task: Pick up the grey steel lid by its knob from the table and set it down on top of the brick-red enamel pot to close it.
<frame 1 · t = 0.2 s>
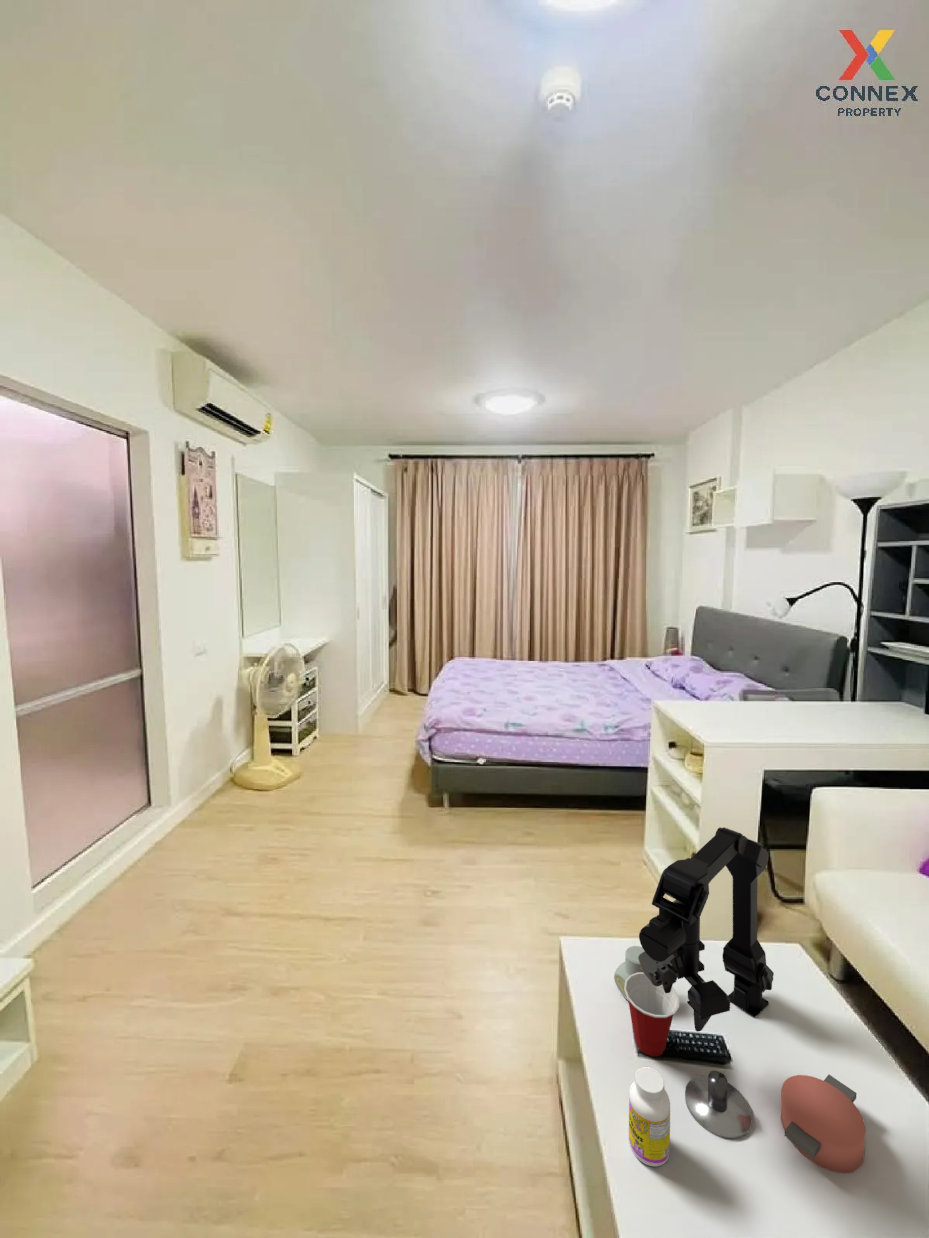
hand: (682, 1010, 102), 14 cm above the table, fingers open, 9 cm apart
air freshener: (638, 994, 123), on the table
pot: (820, 1133, 92), on the table
plastic cup: (651, 1045, 110), on the table
supplement bottle: (648, 1148, 91), on the table
lid: (717, 1108, 97), on the table
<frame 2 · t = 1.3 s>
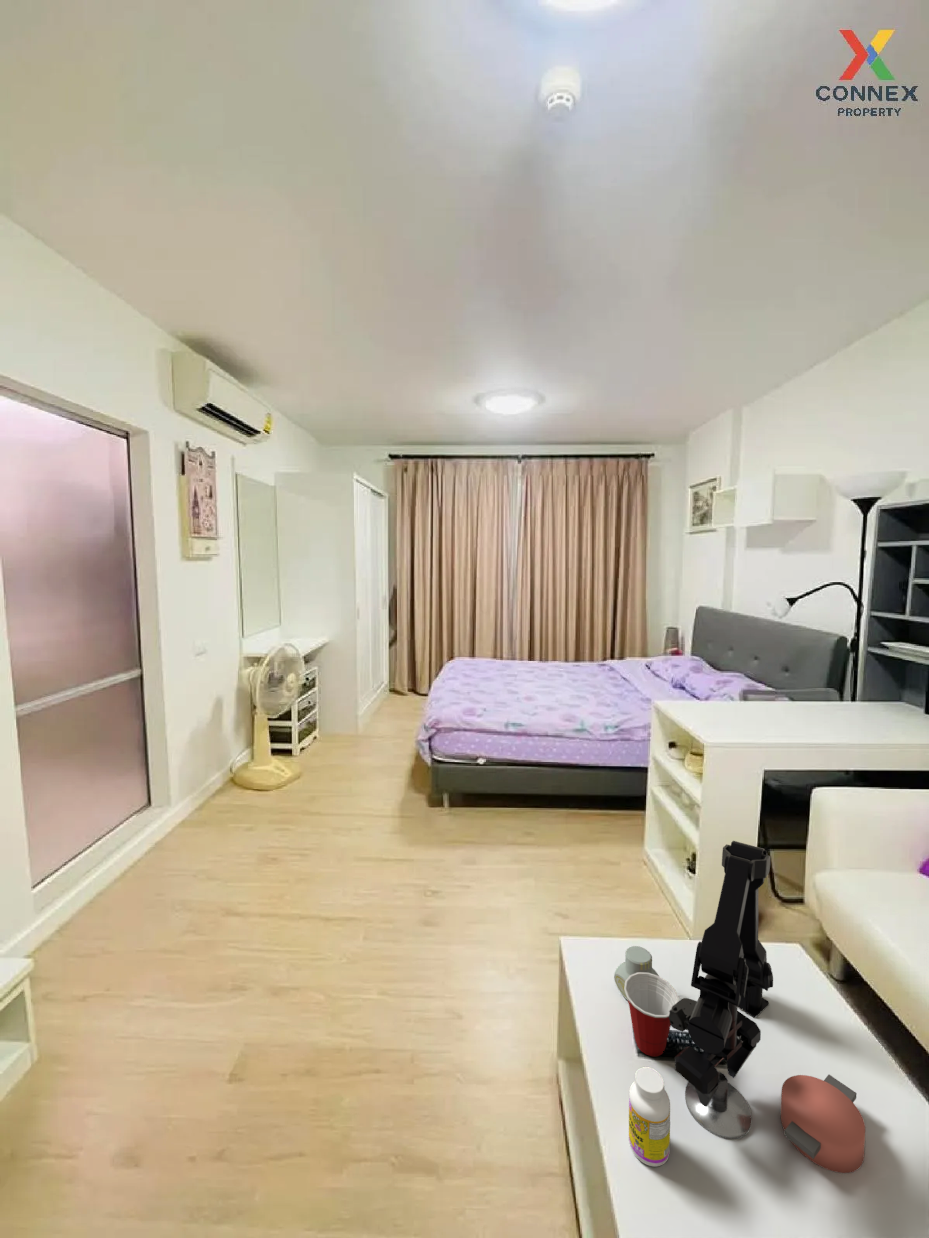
hand: (717, 1089, 97), 3 cm above the table, fingers open, 9 cm apart
nothing on the table moved.
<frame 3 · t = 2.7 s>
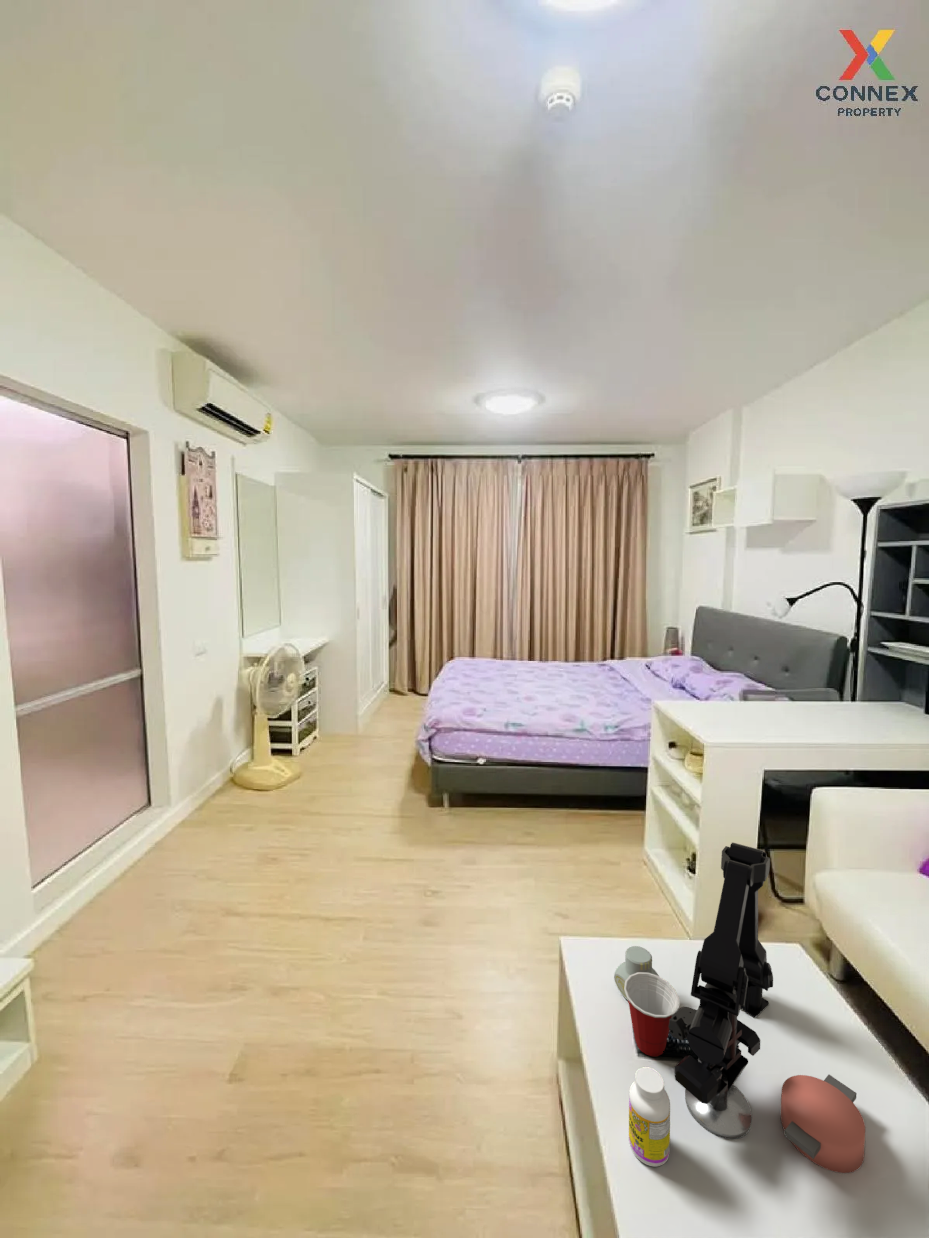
hand: (717, 1098, 97), 2 cm above the table, fingers closed on lid, 3 cm apart
lid: (717, 1106, 97), on the table, touching gripper
everything else where it was.
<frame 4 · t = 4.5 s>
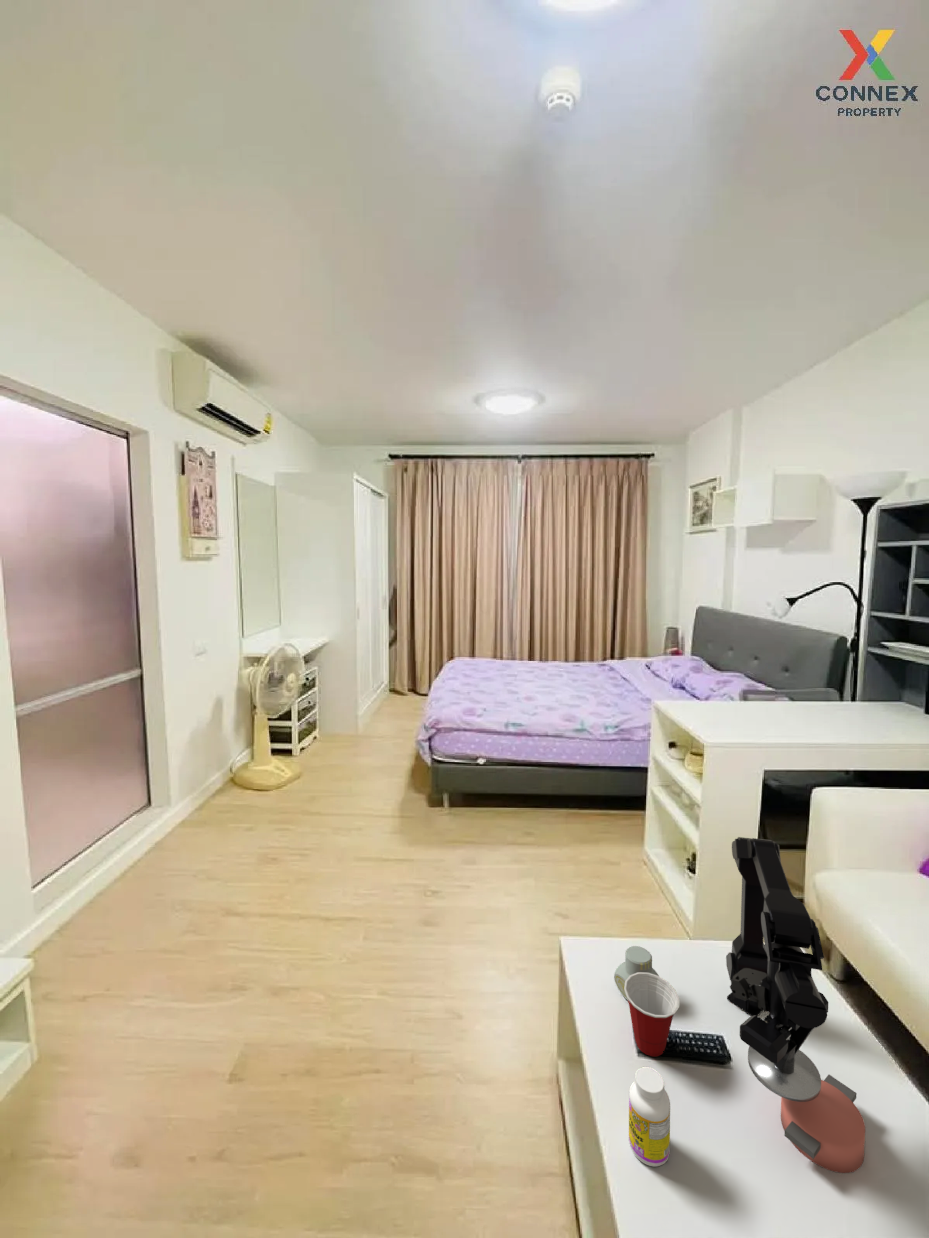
hand: (783, 1061, 93), 12 cm above the table, fingers closed on lid, 3 cm apart
lid: (783, 1070, 93), point 10 cm above the table, touching gripper
everything else where it was.
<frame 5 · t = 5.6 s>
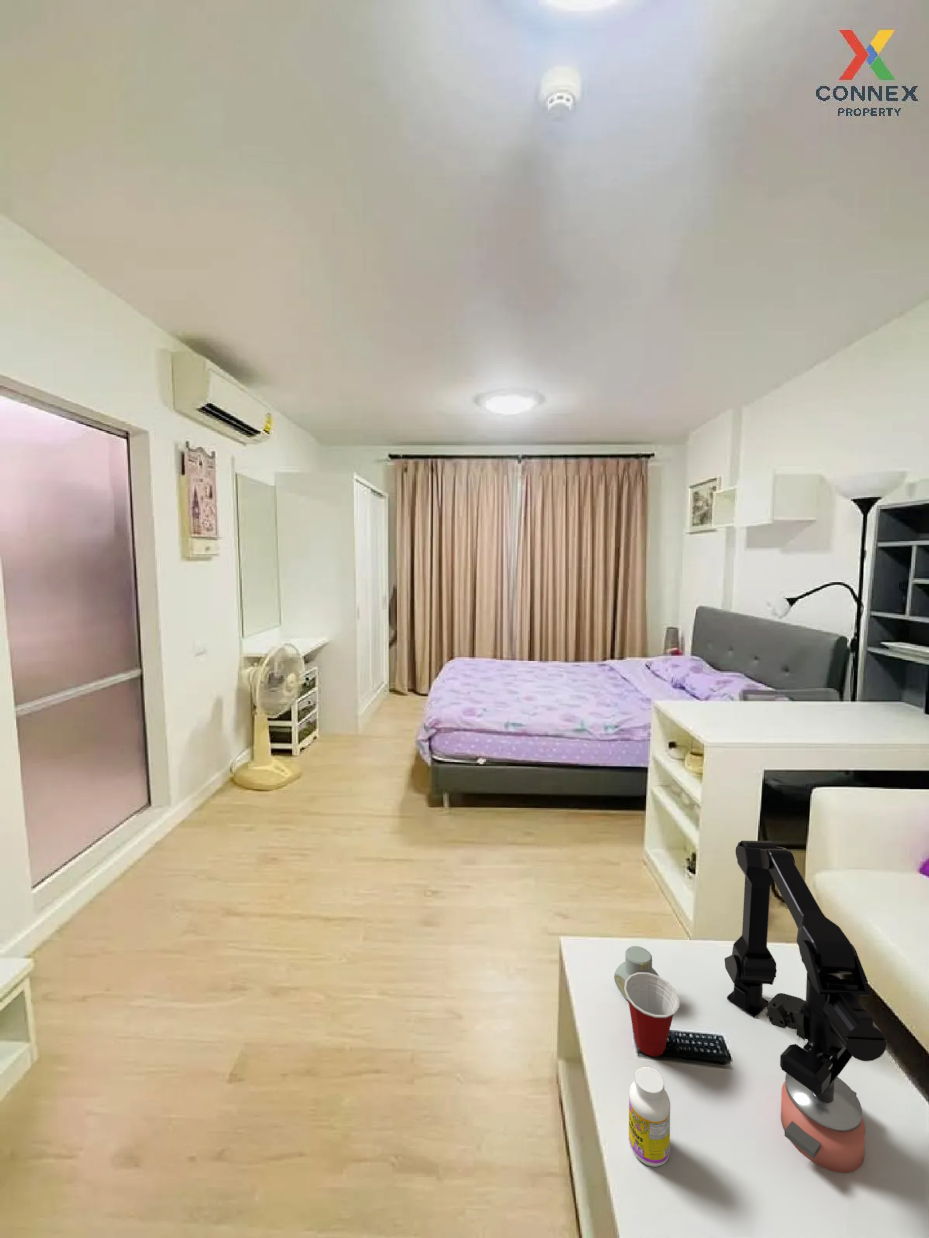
hand: (822, 1089, 92), 8 cm above the table, fingers closed on lid, 3 cm apart
lid: (822, 1098, 92), point 7 cm above the table, touching gripper
everything else where it was.
when the fingers open (8 cm above the table, at t = 6.2 s): lid drops 1 cm, resting on pot.
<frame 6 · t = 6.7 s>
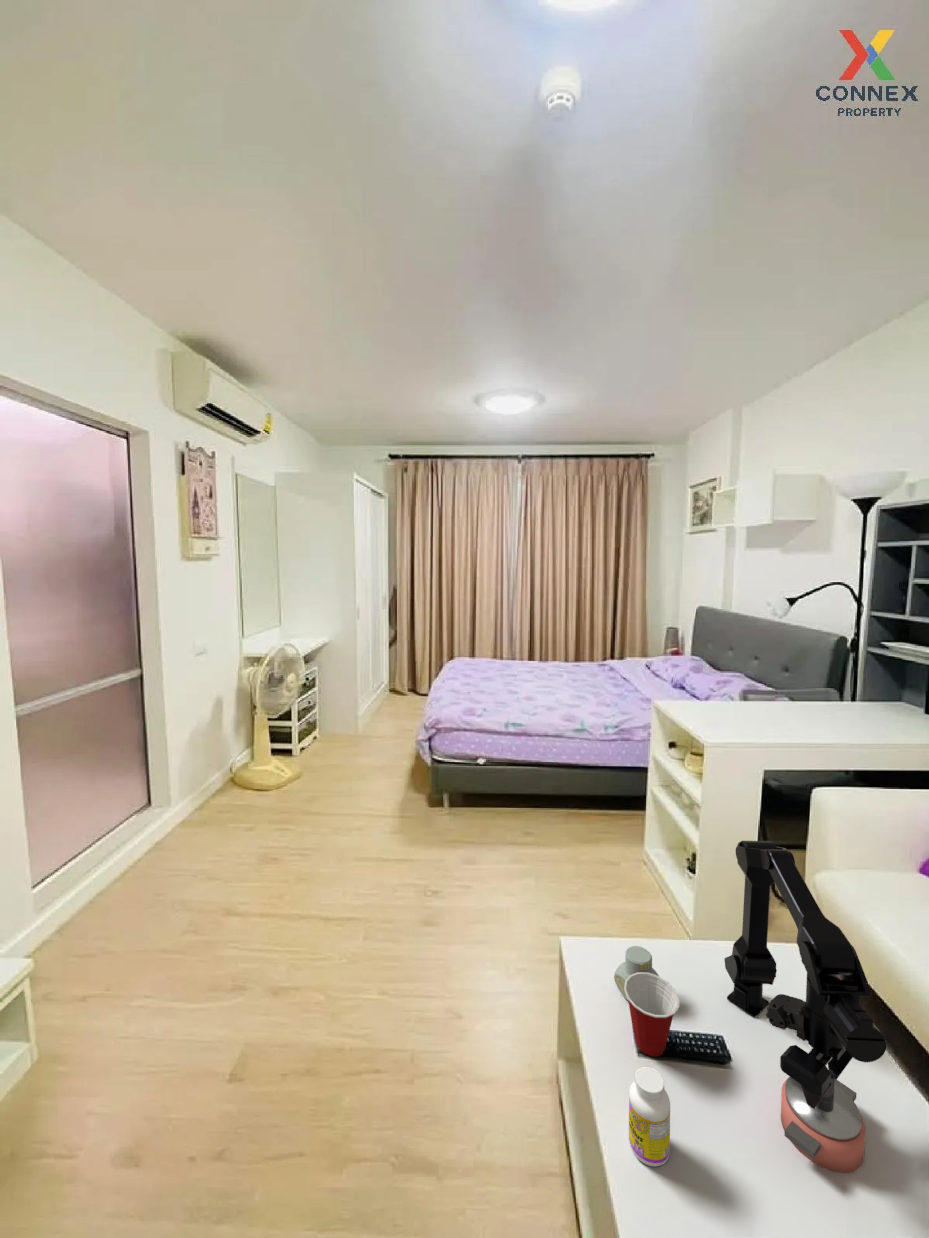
hand: (822, 1091, 92), 8 cm above the table, fingers open, 8 cm apart
lid: (822, 1107, 92), point 5 cm above the table, touching pot
everything else where it was.
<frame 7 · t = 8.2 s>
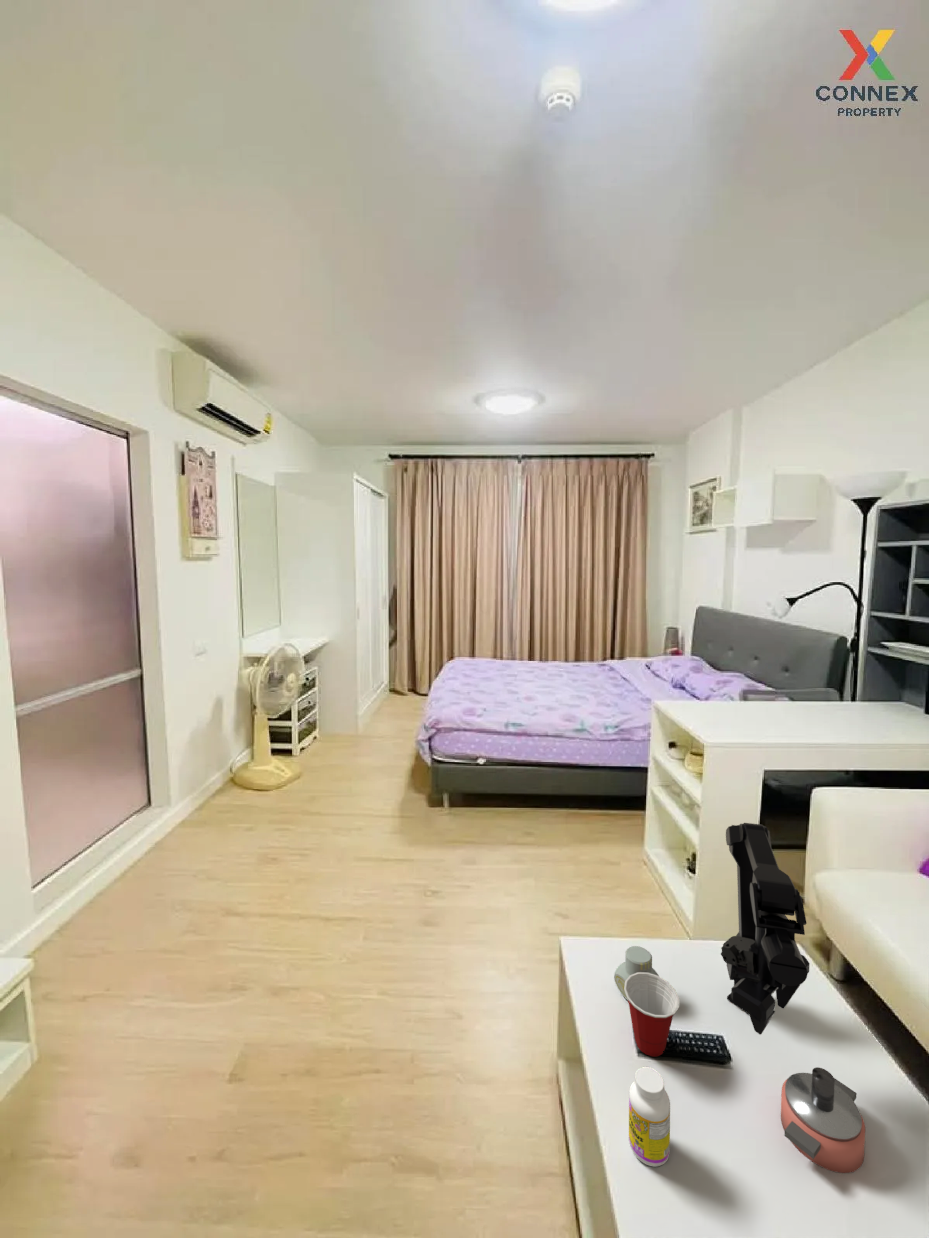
hand: (769, 1019, 101), 13 cm above the table, fingers open, 9 cm apart
nothing on the table moved.
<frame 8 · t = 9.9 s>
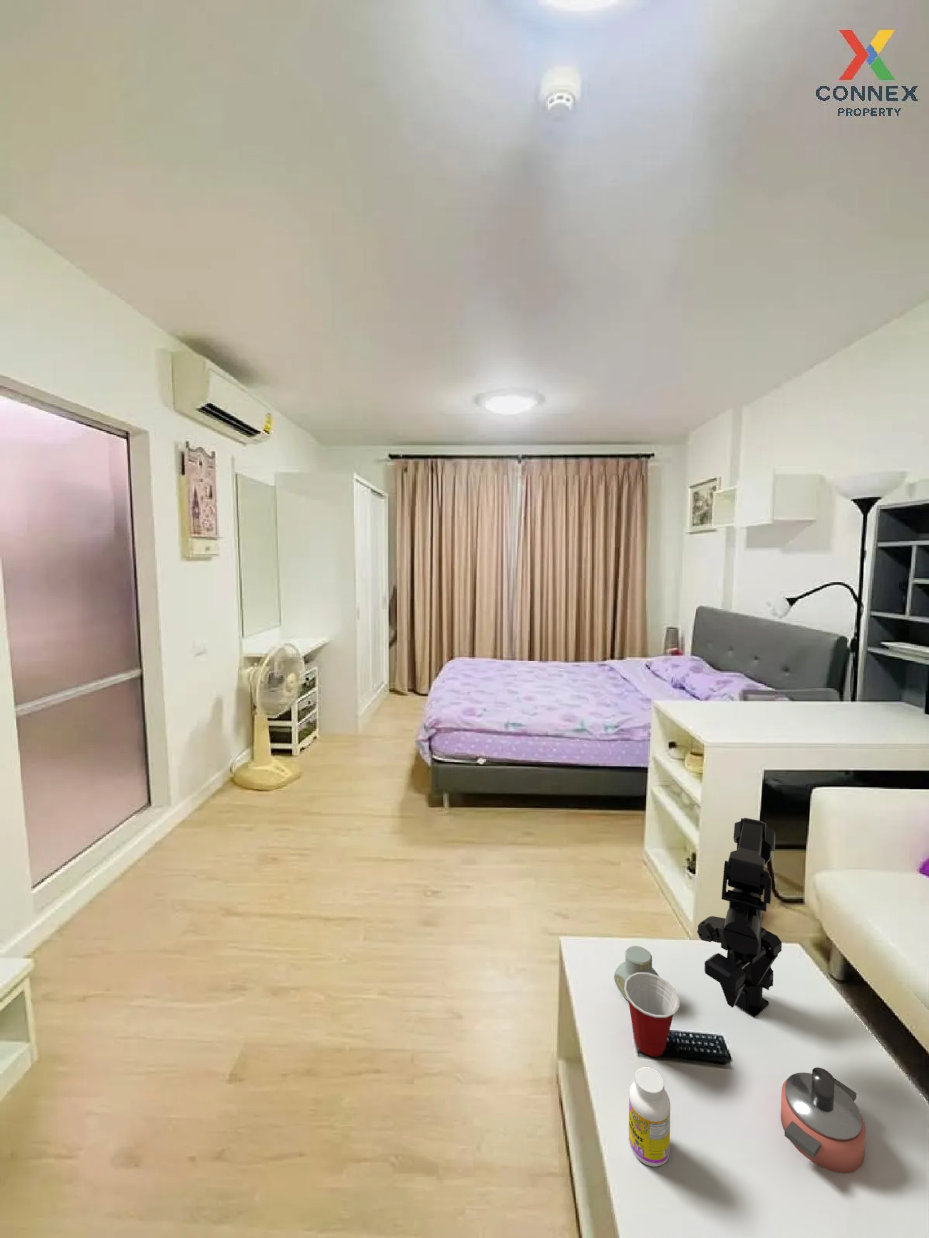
hand: (743, 994, 106), 13 cm above the table, fingers open, 9 cm apart
nothing on the table moved.
at the end: lid 0.0 cm off-centre on the pot, point 5.0 cm above the pot's base; lid tilted 0°; the gripper is holding nothing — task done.
